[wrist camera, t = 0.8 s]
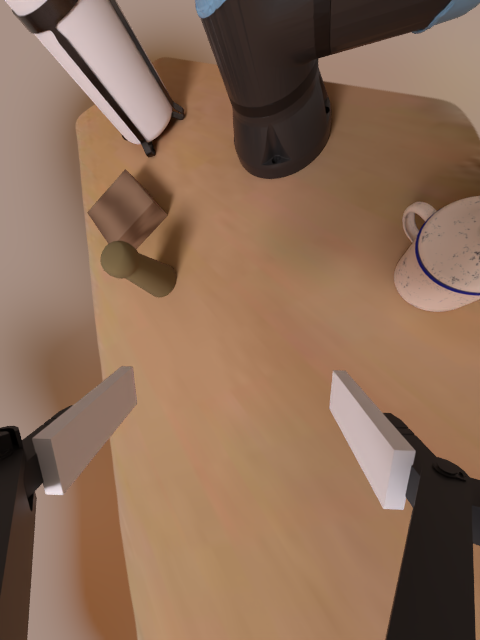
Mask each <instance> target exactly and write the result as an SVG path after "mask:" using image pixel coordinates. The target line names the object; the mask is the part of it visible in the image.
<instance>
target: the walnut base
mask: <svg viewBox="0 0 480 640" xmlns="http://www.w3.org/2000/svg"><path fill="white" fill-rule="evenodd" d="M87 213H88V214H89V216H90V217H91V219H92V220H93V222H94V223H95V225H96V226H97V228H98V229H99V230H100V232H101V233H102V235H103V236H104V238H105V239H106V241H107V242H108V244H109V243H111V242H113V241H124V242H128V243H129V244H131V245H132V246H133V247H134V248H135V249H137V248H138V247H139V245H140V244H141V243H142V242H143V241H144V240H145V239H146V238H147V237H148V236H149V235H150V234H151V233H152V232H153V231H154V230H155V228H156V227H157V226H158V225H159V224H160V223H161V222H162V221H163V220H164V219H165V218H166V217H167V216H168V215H167V214H166V213H165V211H164V210H163V209H162V208H161V207H160V206H159V205H158V204H157V202H156V201H155V200H154V199H153V198H152V197H151V196H150V194H149V193H148V192H147V191H146V190H145V189H144V188H143V187H142V185H141V184H140V183H139V182H138V181H137V180H136V179H135V178H134V177H133V176H132V175H131V174H130V173H129V172H128V171H127V170H124V171H123V172H122V174H121V175H120V176H119V177H118V178H117V179H116V180H115V182H114V183H113V184H112V185H111V186H110V187H109V188H108V189H107V191H106V192H105V193H104V194H103V195H102V196H101V197H100V199H99V200H98V201H97V202H96V203H95V204H94V205H93V207H92V208H91V209H90V210H89V211H88V212H87Z"/></svg>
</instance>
